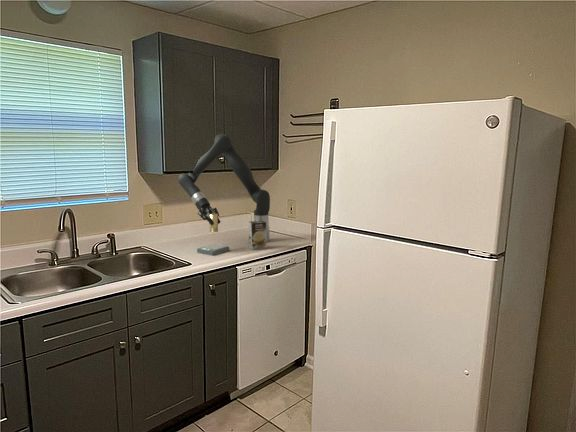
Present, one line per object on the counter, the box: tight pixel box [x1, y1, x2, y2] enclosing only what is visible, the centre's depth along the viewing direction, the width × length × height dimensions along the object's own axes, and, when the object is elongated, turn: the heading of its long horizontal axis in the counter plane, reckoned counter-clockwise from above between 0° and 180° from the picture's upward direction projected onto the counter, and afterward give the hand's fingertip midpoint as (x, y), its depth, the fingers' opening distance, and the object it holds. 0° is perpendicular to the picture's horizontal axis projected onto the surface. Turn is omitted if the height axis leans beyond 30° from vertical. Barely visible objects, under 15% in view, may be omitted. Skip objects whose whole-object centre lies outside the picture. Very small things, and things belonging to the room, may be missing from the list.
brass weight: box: [208, 213, 219, 233], centre depth 252 cm, size 5×5×10 cm
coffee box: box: [248, 220, 267, 251], centre depth 261 cm, size 9×6×16 cm
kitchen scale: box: [196, 243, 230, 256], centre depth 253 cm, size 14×12×3 cm
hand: (216, 223), depth 251 cm, fingers closed on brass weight, 4 cm apart
